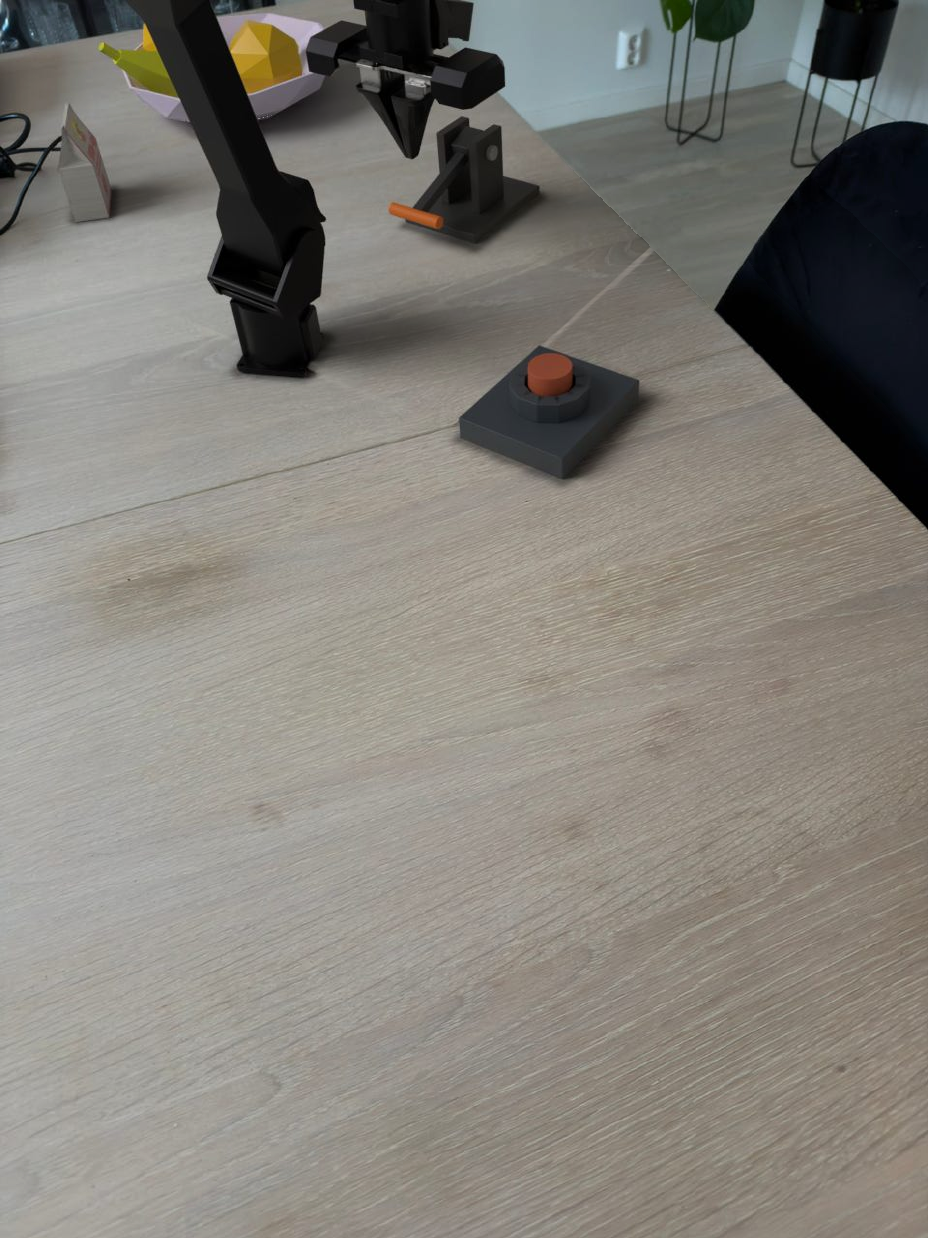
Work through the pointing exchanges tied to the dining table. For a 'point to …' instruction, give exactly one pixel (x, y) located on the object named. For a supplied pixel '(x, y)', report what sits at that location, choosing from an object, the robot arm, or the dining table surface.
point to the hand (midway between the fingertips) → (412, 156)
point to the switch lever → (438, 184)
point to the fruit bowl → (260, 52)
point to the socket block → (549, 416)
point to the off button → (550, 374)
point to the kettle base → (477, 186)
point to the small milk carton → (82, 170)
